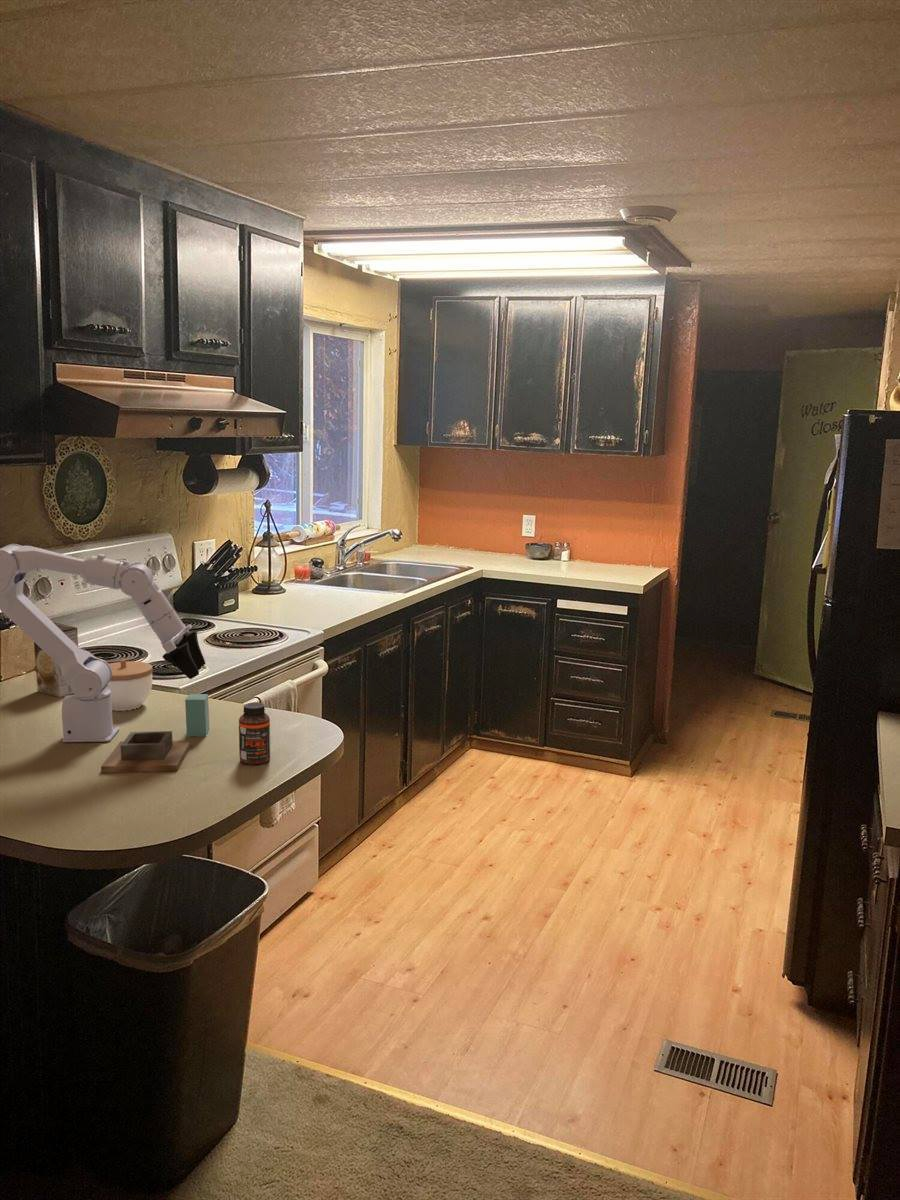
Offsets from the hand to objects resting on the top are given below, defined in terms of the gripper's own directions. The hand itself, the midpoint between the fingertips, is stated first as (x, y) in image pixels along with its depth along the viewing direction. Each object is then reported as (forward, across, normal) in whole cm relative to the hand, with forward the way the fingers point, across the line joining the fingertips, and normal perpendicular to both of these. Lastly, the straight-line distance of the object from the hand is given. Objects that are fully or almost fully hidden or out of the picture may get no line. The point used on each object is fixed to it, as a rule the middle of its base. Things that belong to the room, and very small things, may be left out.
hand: (198, 671), depth 200 cm
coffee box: (-8, +33, +41) cm, 54 cm away
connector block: (+12, 0, +7) cm, 14 cm away
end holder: (+8, -15, +13) cm, 21 cm away
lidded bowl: (+2, +20, +25) cm, 32 cm away
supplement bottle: (+18, -17, -5) cm, 26 cm away
